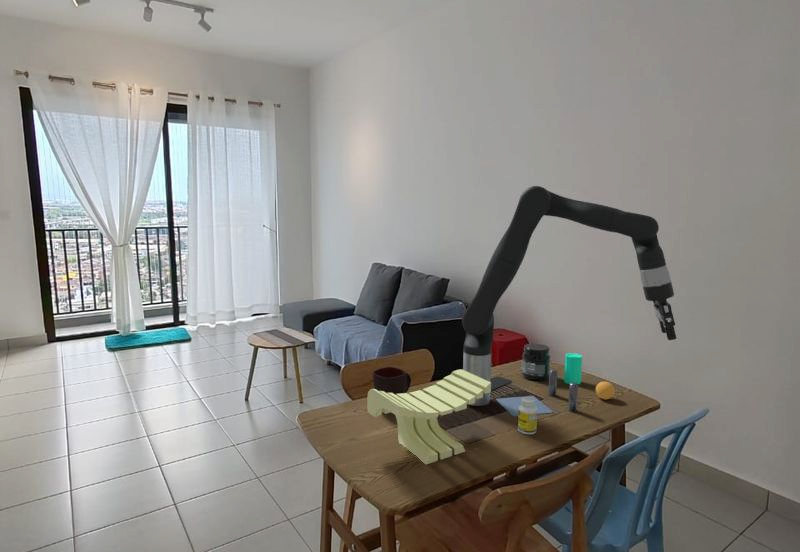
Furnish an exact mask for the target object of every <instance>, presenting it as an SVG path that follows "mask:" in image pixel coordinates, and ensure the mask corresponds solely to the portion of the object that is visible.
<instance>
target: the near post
mask: <svg viewBox="0 0 800 552" xmlns="http://www.w3.org/2000/svg"><path fill="white" fill-rule="evenodd" d="M568 391H569V392H568V407H567V408H568V411H569V412H570V413H577V411H578V397H579V396H578V395H579V385H578V384H577V383H574V382H572V383H570V384H569V390H568Z"/></svg>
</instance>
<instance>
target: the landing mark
mask: <svg viewBox="0 0 800 552" xmlns="http://www.w3.org/2000/svg"><path fill="white" fill-rule="evenodd" d="M523 397H532V398H534V399H535V406H536V407H537V415H544V414H546V415H547V414H554V411H553V410H551V408H549V407H548V406H547V405H545V404H544V403H543V402H542V401H540V400H539V399H538V398H537V397H535V396H534V395H525V396H513V397H502V398H501V397H499V398H495V400H496V402H497V403H499V405H500V406H501V407H503V408H504V409H505V411H507V412H508V413H509V414H510V416H511V417H518V410H519V406H520V405H521V398H523Z"/></svg>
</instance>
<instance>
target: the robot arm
mask: <svg viewBox="0 0 800 552" xmlns="http://www.w3.org/2000/svg"><path fill="white" fill-rule="evenodd" d="M544 216H545V217H546V216H547V217H555V218H556V217H557V218H561V219H564V220H565V219H566V220H568V221H572V222H575V223H578V224H580V225H583V226H586V227H589V228H593V229H598V230H601V231H605V232H608V233H616V234H619V235H623V236H627V237H630V238H631V241H632V244H633V247H634V249H635V250H634V251H635V254H636V259H637V263H638V267H639V274H640V281H641V285H642V289H643V293H644V296H645V300H646V301H648V302H653V309H654V313H655V316H656V318H657V320H658V321H659V327H660V330H661V332H662V334H666V338H667V340H668V341H673V340H676V339H677V335H676V330H675V326H676V322H675V319H674V314H673V311H672V310H673V309H672V305H671V304H670V303H669V302H668V301H667V299H671V298H673V297H674V295H675V293H674V289H673V283H672V279H671V275H670V271H669V269H668V266H667V263H666V262H667V261H666V259H665V254H664V251H663V249H662V247H661V245H660V242H659V239H658V232H659V229H660V227H659V222H658V221H657V220H656V219H655V218H654V217H653V216H650V215H647V214H646V215H645V214H639V213H635V212H629V211H624V210H623V209H619V208H614V207H613V206H608V205H603V204H598V203H593V202H588V201H583V200H576V199H572V198H569V197H565V196H562V195H559V194H557V193H555V192H552V191H549V190H547V188H545V187H543V186H539V185H533V186H529V187H527V188H525V190H523V191H522V193H521V195H520V197H519V199H518V203H517V206H516V209H515V212H514V213H513V217H512V220H511V222H510V223H509V226H508V227H507V230H506V231H505V233H504V234H503V236H502V237H501V239H500V240H499V242H498V244H497V246H496V247H495V249H494V252H493V254H492V255H491V258H490V260H489V262H488V264H487V266H486V269H485V271H484V274H483V277H482V278H481V282H480V284H479V287H478V289H477V291H476V293H475V295H474V297H473V298H472V300H471V302H470V304H469V305H468V306H467V308H466V310H465V311H464V312H463V315H462V319H461V323H462V327H463V329H464V331H465V333H466V334H465V339H464V343H463V355H462V356H463V358H462V359H463V360H462V362H463V363H462V365H463V366H462V370H464V371H467V372H469V373H471V374H473V375H475V376H478V377H480V378H482V379H484V380H487V381H489V382H490V380H491V378H492V377H491V375H492V370H491V369H492V346H493V343H494V330H495V329H494V326H495V318H494V317H495V316H494V311H495V310H496V307H497V304H498V303H499V300H500V299H501V298H502V296H503V295H504V293H505V292H506V291H507V290H508V288H509V287H510V285H511V283H512V282H513V281H514V278H516V275H517V273H518V272H519V269H520V266H521V265H522V263H523V260H524V259H525V256H526V254H527V250H528V247H529V245H530V242H531V241H530V240H531V238H532V235H533V233H534V232H535V230H536V228H537V226H538V225H539V223H540V222H541V220H542V218H543V217H544ZM490 400H491V392H490V393H486V394H485V393H483V398H479V399H477V398H475V403H473V404H468V403H467V406H472V407H473V406H474V407H475V406H476V407H482V406H486V405H489V404H490V403H491V401H490Z"/></svg>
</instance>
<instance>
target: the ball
mask: <svg viewBox="0 0 800 552" xmlns="http://www.w3.org/2000/svg"><path fill="white" fill-rule="evenodd" d="M615 393H616V392H615V388H614V386H613V385H612V384H611V382H609V381H600V382H599V383H598V384H597V385H596V386H595V394H596V395H597V397H599V399H602V400H605V401H606V400H609V399H610V400H611V399H612V398H613V397H614V395H615Z"/></svg>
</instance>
